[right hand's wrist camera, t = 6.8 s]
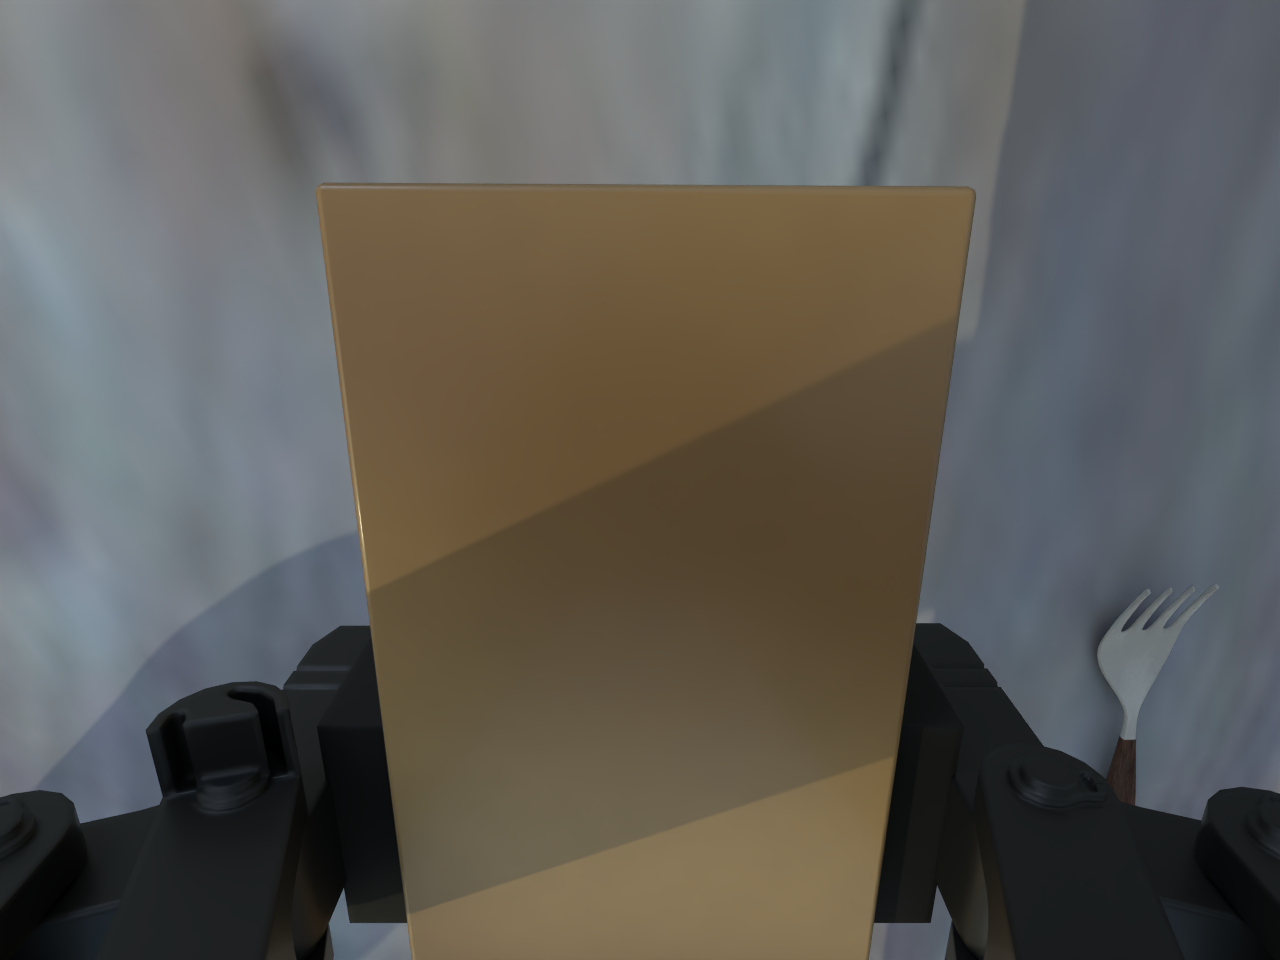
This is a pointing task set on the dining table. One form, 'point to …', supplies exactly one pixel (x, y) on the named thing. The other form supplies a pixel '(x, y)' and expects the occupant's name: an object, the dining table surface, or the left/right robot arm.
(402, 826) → the post
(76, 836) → the right robot arm
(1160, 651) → the fork
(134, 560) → the dining table surface
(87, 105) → the dining table surface
